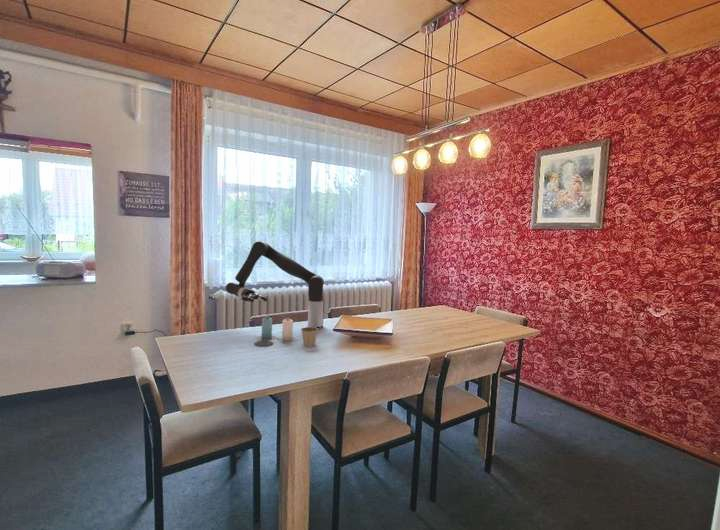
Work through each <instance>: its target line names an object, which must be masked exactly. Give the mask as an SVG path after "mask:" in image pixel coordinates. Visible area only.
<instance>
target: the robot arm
mask: <svg viewBox="0 0 720 530" xmlns="http://www.w3.org/2000/svg"><path fill="white" fill-rule="evenodd" d="M261 257H265V258H266V259H268V260H270V261H271V262H273V263H274V265H275V266H276V267H278V268H279V269H280V270H282V271H284V272H285V273H287V274H288V275H291V276H293V277H296V278H297V279H300V280H302V281H304V282H305V283H307V285H308V291H307V292H308V293H307V294H308V295H307V297H308V305H307V307H308V310H307V327H314V328H317V327H320V328H322V327H324V311H323V309H324V308H323V303H324V301H323V300H324V285H325V281H324V278H323V277H322V276H320V275H318V274H316V273H314V272H312V271H310V270H309V269H307V268H306V267H304V266H303V265H302V264H301V263H299V262H298V261H295V260H294V259H292V258H291V257H289V256H287V255H285V253H282V252H280V251H278V250H276V249H275V248H273V246H271V245H269V244H268V243H267V242H266V241H264V240H258V241H255V242H254V243H253V244H252V246H251V249H250V251H249V254H248V256H247V257H246V260H245V261H244V263H243V264H242V266H241V268H240V269H239V270H238V272H237V274H236V276H235V277H234V279H235V280H236V281H237V282H238V283H235V282H229V283H226V285H225V291H226V293H228V294H231V295H234V296H236V297H238V298H239V299H240V300H242V301H243V302H247V303H254V301H263V302H268V296H267V295H266V294H263V293H260V294H259V293H256V292H255V290H253V289H251V288H249V287H246V286H245V285H246V282H247V280H248V279H249V278H250V276H251V274H252V272H253V270H254V267H255V265H256V264H257V262H258V260H260V258H261ZM321 326H322V327H321ZM317 329H318V328H317Z"/></svg>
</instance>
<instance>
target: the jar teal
mask: <svg viewBox="0 0 720 530" xmlns="http://www.w3.org/2000/svg"><path fill="white" fill-rule="evenodd" d="M261 336H262V339H271V338H272V336H273V318H272V317H269V316H265V317H263V318H261Z"/></svg>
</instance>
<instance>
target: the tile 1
mask: <svg viewBox="0 0 720 530" xmlns="http://www.w3.org/2000/svg"><path fill="white" fill-rule="evenodd" d="M254 338H255V339H257V340H258V341H274V340H276V339H277V338H278V337H276V336H274V335H272V338H271V339H262V335H260V336H254Z"/></svg>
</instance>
